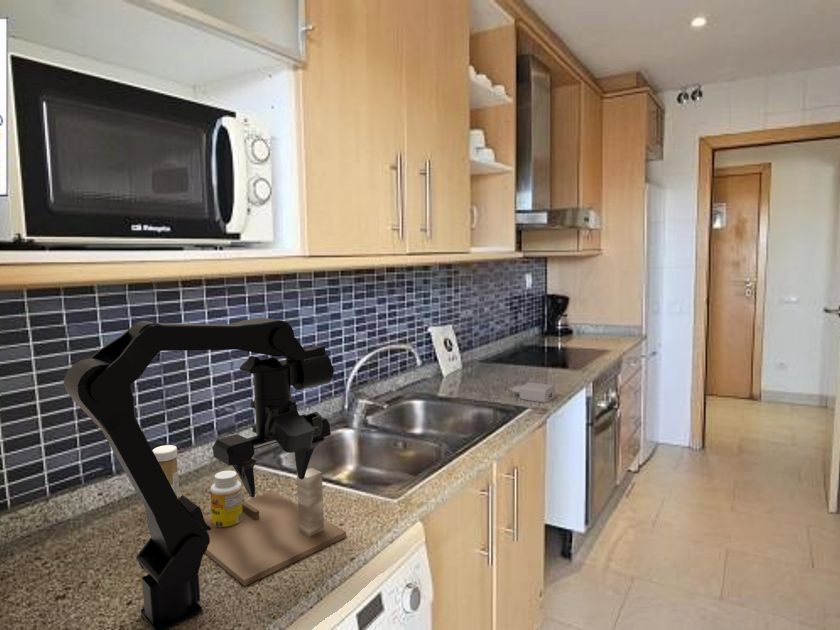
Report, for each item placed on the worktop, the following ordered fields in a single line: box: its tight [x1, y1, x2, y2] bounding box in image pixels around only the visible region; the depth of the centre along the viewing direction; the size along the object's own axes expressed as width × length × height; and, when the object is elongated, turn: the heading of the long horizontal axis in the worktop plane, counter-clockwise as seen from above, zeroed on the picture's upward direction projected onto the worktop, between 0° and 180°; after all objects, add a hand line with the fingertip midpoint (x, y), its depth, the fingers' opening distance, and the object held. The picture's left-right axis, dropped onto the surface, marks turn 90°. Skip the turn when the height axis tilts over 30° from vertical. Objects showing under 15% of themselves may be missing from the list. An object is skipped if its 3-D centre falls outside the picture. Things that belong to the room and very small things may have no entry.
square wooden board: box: [203, 467, 347, 587], centre depth 99 cm, size 20×25×12 cm
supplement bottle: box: [210, 470, 243, 528], centre depth 103 cm, size 6×6×10 cm
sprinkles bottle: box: [152, 444, 180, 499], centre depth 108 cm, size 5×5×14 cm
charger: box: [508, 382, 556, 404], centre depth 190 cm, size 5×9×15 cm
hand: (277, 487), depth 90 cm, fingers open, 9 cm apart
